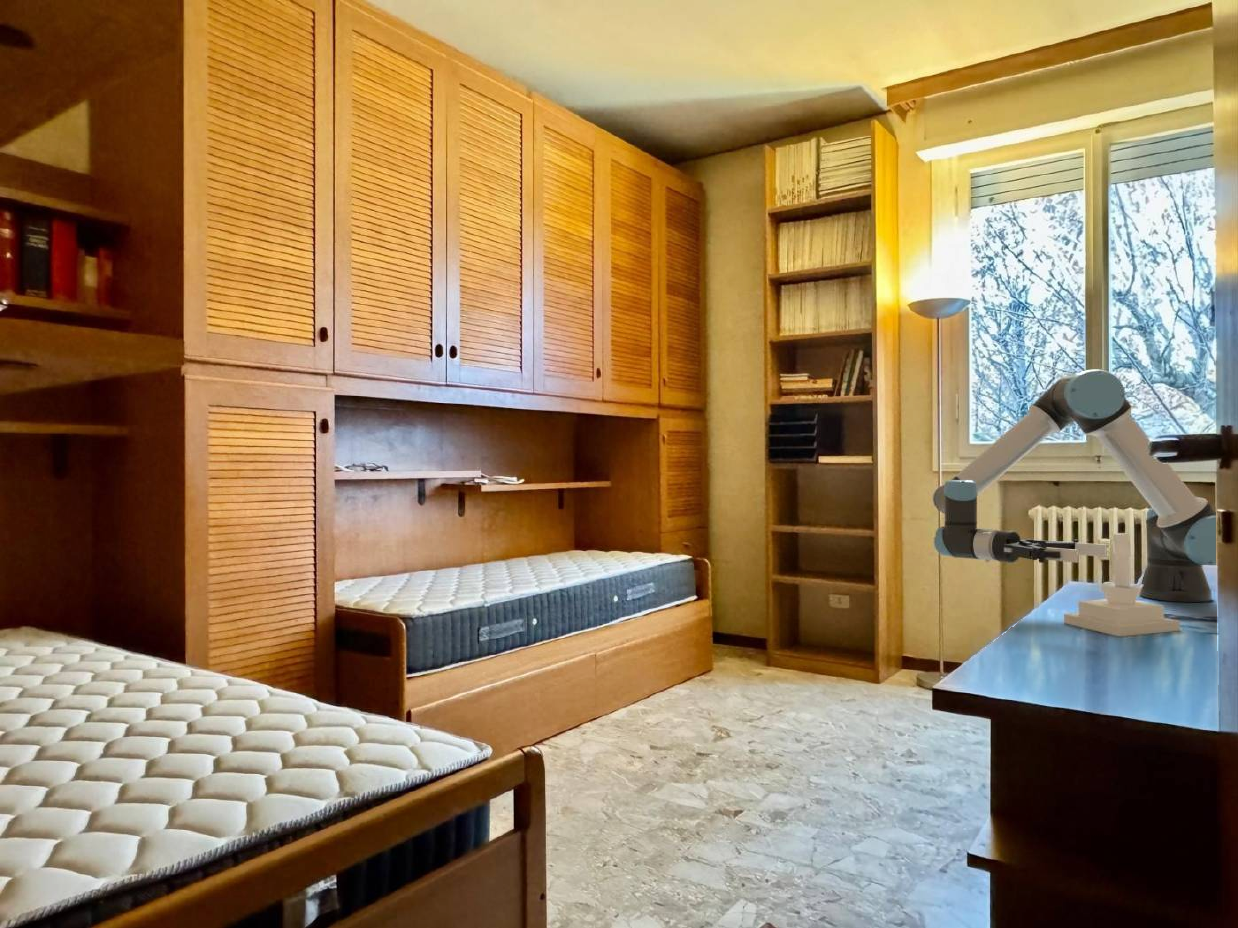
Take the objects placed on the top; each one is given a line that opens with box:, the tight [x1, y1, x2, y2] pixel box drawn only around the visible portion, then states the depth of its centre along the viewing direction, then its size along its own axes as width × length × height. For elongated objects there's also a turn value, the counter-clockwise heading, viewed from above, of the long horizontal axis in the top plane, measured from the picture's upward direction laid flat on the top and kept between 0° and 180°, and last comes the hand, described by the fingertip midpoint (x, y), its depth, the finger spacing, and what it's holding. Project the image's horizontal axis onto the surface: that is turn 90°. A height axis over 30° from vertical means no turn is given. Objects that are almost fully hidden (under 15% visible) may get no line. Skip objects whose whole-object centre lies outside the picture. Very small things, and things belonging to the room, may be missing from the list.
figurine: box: [1099, 532, 1143, 605], centre depth 173 cm, size 7×9×15 cm
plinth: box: [1063, 598, 1181, 637], centre depth 172 cm, size 16×14×5 cm
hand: (1092, 553), depth 176 cm, fingers open, 13 cm apart
